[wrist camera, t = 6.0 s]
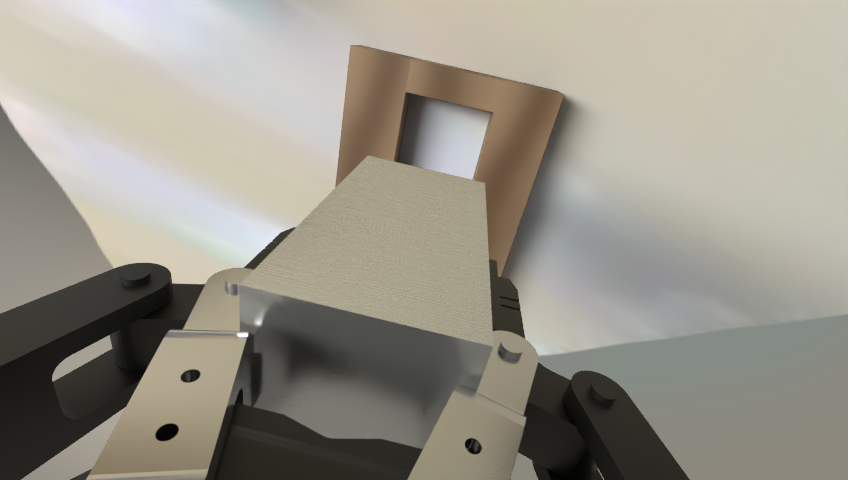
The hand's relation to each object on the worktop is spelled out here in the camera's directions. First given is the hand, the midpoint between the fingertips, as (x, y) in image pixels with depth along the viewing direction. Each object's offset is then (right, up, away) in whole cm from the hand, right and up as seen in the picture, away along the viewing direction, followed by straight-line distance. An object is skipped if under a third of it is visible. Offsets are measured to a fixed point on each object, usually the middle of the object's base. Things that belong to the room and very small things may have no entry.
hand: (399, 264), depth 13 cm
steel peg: (0, +2, +3) cm, 3 cm away
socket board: (+1, +3, +20) cm, 20 cm away
